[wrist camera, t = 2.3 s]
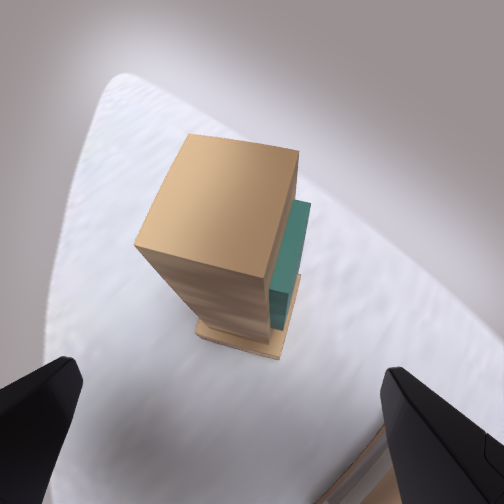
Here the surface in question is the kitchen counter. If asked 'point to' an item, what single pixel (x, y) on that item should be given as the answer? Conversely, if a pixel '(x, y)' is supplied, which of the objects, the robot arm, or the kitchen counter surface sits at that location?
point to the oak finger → (230, 239)
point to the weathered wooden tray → (367, 478)
